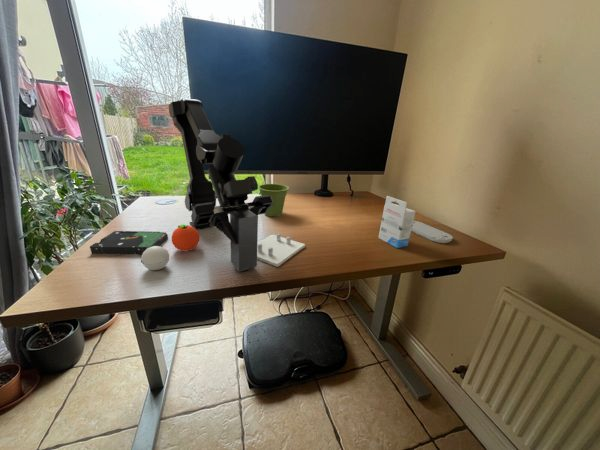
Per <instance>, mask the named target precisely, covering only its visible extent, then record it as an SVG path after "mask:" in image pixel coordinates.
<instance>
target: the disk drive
mask: <svg viewBox="0 0 600 450" xmlns="http://www.w3.org/2000/svg"><path fill="white" fill-rule="evenodd" d="M167 240H169V235H168V233H167V232H166V231H165V232H164V231H141V230H140V231H139V230H138V231H136V230H135V231H133V230H132V231H131V230H114V231H112V232H111V233H110V234H107V235H106V236H104V237H103V238H101V239H100V240H99V242H95V243H93V244H92V245H90V246H89V249H90V252H91V253H90V254H91V255H140V256H142V254H143V252H144V251H145V250H146V249H148V248H150V247H152V246H161V247H162V245H163V244H164V243H166V242H167Z"/></svg>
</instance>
